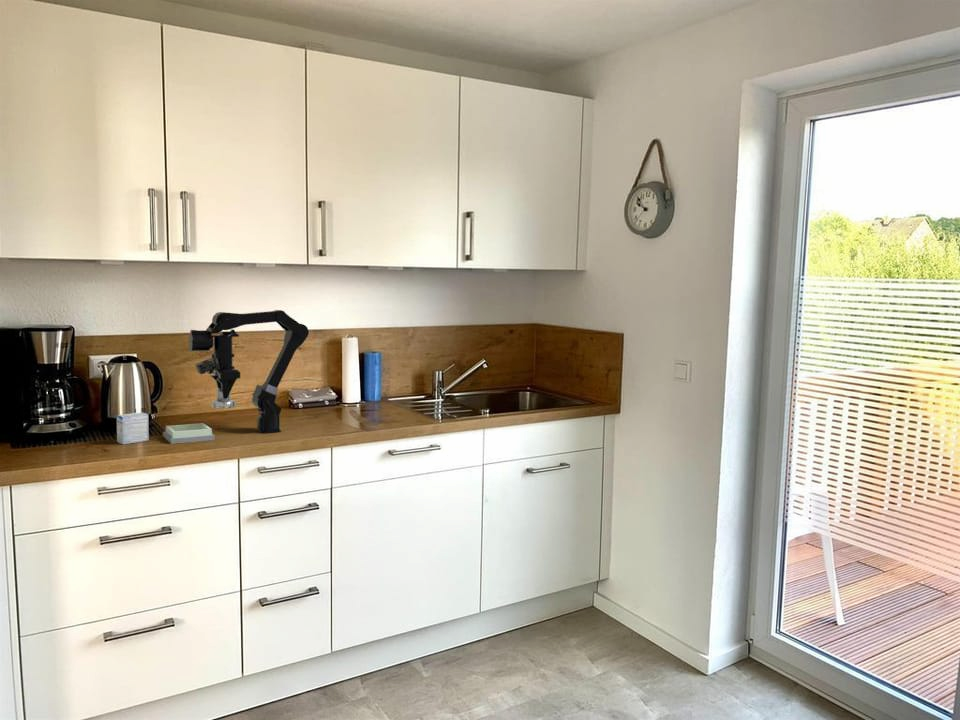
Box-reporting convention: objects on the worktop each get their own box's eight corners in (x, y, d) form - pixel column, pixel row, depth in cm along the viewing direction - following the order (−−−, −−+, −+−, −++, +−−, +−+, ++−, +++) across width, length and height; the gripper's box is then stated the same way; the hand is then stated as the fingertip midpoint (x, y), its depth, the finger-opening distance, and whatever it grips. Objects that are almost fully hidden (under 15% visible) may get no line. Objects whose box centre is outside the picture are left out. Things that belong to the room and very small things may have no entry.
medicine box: (142, 439, 224) (141, 412, 223) (149, 441, 221) (148, 413, 220) (116, 442, 218) (116, 415, 217) (123, 444, 215) (122, 416, 214)
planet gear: (232, 404, 237) (231, 386, 236) (237, 407, 231) (237, 389, 230) (209, 406, 233) (209, 388, 232) (214, 409, 227) (214, 390, 226)
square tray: (205, 432, 236) (205, 422, 235) (214, 439, 225) (214, 429, 225) (163, 436, 228) (163, 425, 228) (171, 443, 218) (170, 432, 217)
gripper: (190, 348, 233) (191, 395, 235) (204, 353, 218) (204, 403, 219) (225, 348, 240) (225, 393, 241) (240, 352, 224) (241, 401, 226)
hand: (223, 397), depth 232 cm, fingers closed on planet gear, 4 cm apart
